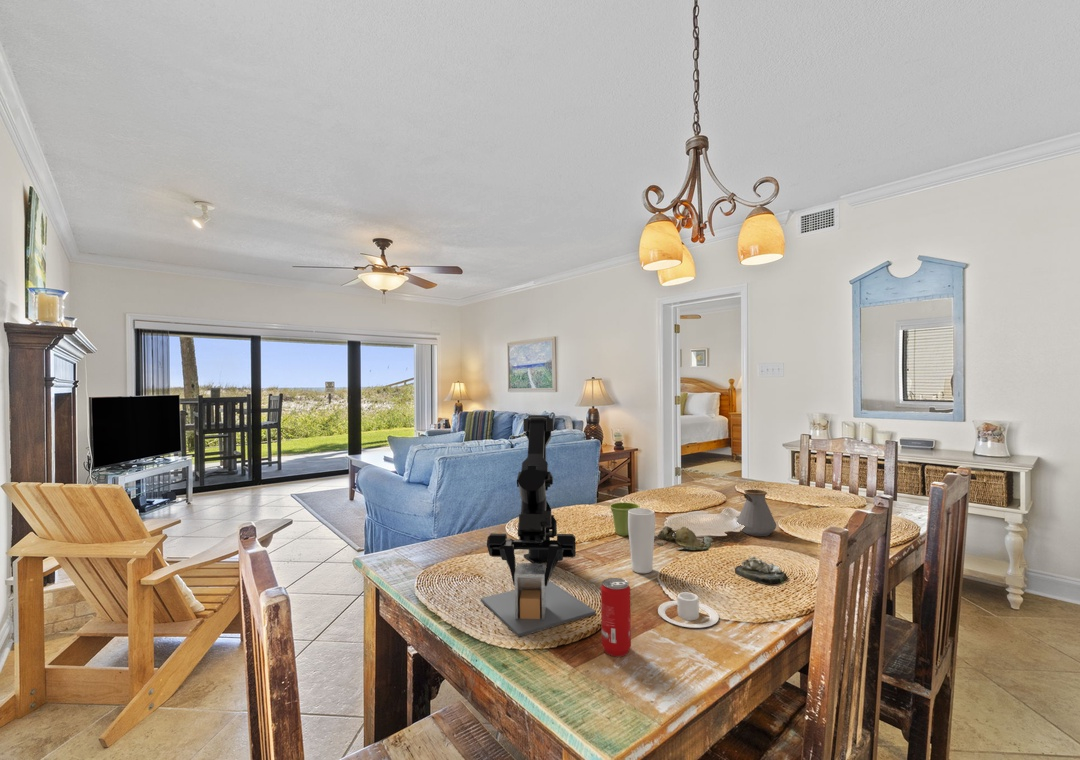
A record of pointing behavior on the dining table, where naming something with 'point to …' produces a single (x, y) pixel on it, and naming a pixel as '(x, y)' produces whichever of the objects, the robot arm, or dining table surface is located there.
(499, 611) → the slate board
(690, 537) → the olive green lumpy piece
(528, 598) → the orange block
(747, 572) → the stone carving
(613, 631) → the beverage can
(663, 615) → the candle holder
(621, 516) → the plant pot
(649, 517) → the drinking glass
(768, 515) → the coffee pot
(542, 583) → the steel cover
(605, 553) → the dining table surface
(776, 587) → the dining table surface
